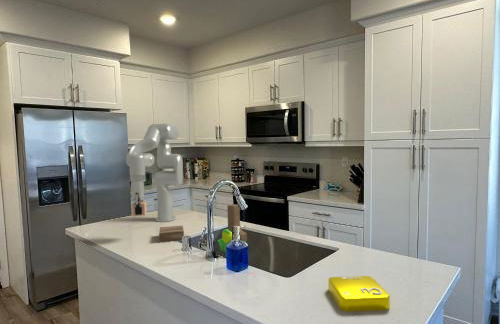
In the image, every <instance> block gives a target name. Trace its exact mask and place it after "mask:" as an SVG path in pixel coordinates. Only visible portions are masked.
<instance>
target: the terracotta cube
mask: <svg viewBox="0 0 500 324" xmlns="http://www.w3.org/2000/svg"><path fill="white" fill-rule="evenodd" d="M139 204H140V202H139ZM141 206H142V214H140V215H135V201H133V203H132V205H131V207H132V208H131V209H132V217H138V216H139V217H141V216H146V214H147V212H148V211H147V209H148V208H147V201H144V200H143V202H141Z"/></svg>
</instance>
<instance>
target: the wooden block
mask: <svg viewBox="0 0 500 324" xmlns="http://www.w3.org/2000/svg"><path fill="white" fill-rule="evenodd" d="M238 205H239V204H236V203H235V204H234V203H232V204H228V205H226V206H227V229H228V230H229V231H230V232H232V227H233V226H240V237H241V238H240V239H241V240H242V241H245V243H247V242H248V233H247V232H245V231H243V230H242V228H241V214H240V212H241V211H240V210H241V208H239V207H238Z"/></svg>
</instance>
